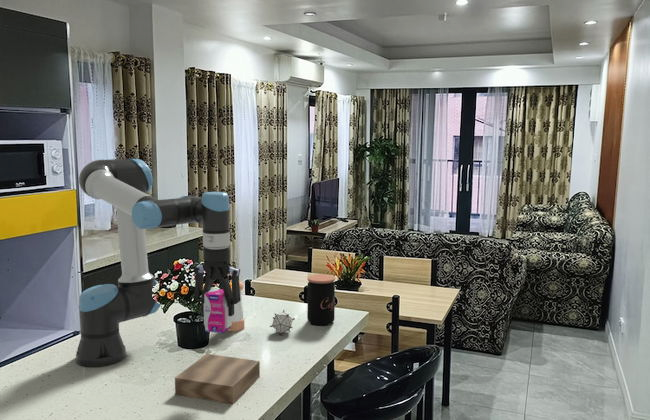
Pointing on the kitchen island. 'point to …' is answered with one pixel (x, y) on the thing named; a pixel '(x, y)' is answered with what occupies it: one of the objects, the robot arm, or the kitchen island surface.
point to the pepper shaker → (238, 314)
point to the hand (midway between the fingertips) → (217, 324)
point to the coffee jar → (321, 299)
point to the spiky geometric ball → (282, 322)
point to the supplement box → (215, 311)
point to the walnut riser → (217, 378)
